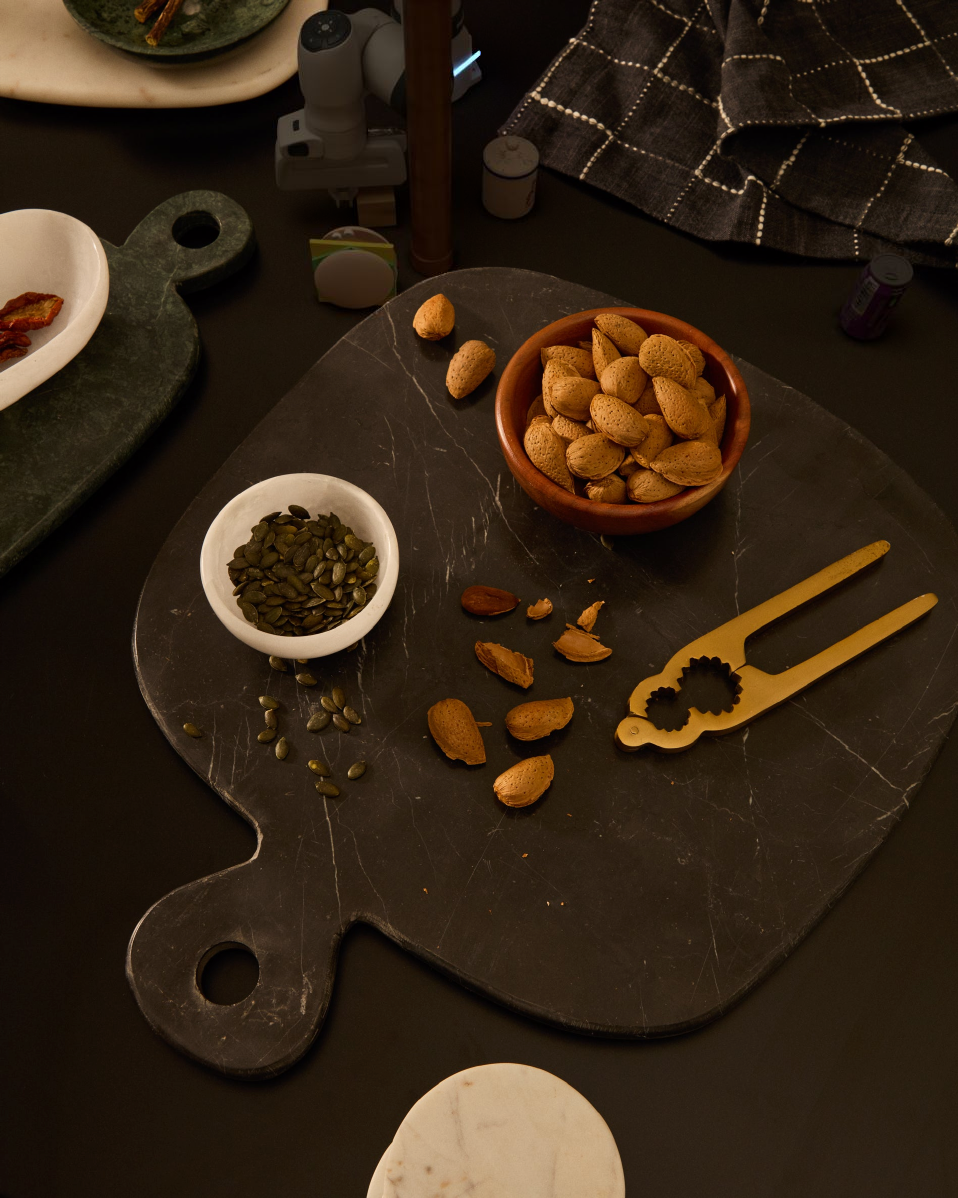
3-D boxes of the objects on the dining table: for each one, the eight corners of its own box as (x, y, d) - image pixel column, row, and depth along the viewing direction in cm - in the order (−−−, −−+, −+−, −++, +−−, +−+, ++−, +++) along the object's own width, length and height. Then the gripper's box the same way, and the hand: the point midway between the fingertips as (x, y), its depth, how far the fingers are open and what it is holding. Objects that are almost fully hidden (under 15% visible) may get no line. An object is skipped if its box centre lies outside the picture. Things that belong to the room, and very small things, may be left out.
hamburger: (400, 276, 153) (396, 217, 143) (395, 317, 150) (391, 259, 139) (324, 271, 153) (314, 211, 143) (317, 312, 150) (307, 254, 139)
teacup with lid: (537, 220, 159) (544, 161, 149) (482, 221, 159) (484, 162, 148) (531, 168, 165) (537, 107, 154) (477, 169, 164) (479, 108, 154)
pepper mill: (408, 245, 156) (392, -91, 111) (450, 242, 157) (452, -94, 111) (412, 277, 153) (398, -54, 108) (455, 274, 154) (459, -57, 108)
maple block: (356, 201, 160) (353, 176, 156) (392, 198, 161) (391, 173, 156) (359, 228, 158) (356, 203, 153) (396, 225, 158) (395, 200, 154)
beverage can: (882, 346, 150) (916, 290, 139) (836, 338, 151) (866, 282, 140) (883, 311, 153) (916, 254, 142) (838, 303, 154) (868, 246, 143)
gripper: (404, 111, 146) (407, 186, 159) (267, 118, 145) (281, 194, 157) (408, 140, 144) (411, 214, 156) (268, 148, 142) (282, 222, 154)
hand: (344, 204), depth 157 cm, fingers closed
